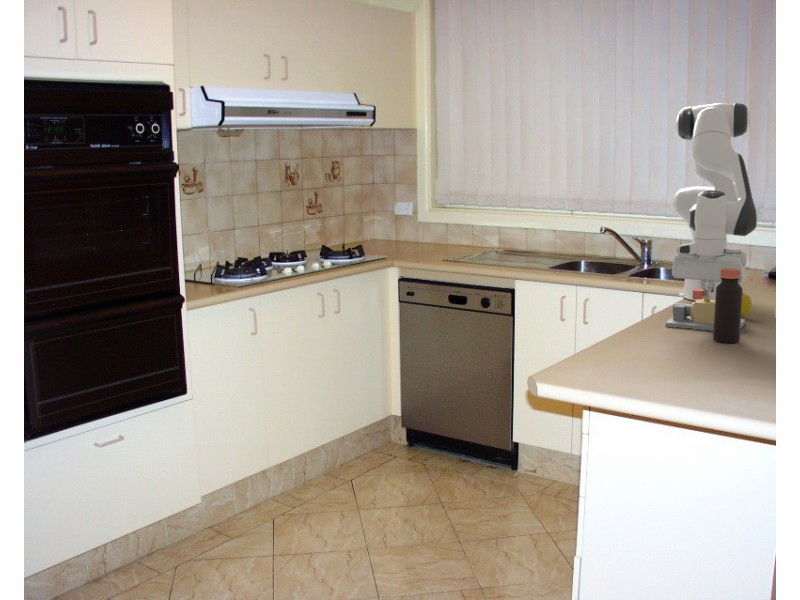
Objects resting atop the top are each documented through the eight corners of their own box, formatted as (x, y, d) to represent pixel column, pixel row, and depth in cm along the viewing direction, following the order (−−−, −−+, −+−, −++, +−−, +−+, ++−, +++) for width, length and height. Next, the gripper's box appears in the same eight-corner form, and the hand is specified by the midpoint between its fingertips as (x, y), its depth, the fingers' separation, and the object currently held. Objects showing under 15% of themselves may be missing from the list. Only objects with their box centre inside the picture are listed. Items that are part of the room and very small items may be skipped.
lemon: (753, 319, 259) (755, 294, 258) (735, 319, 259) (737, 294, 258) (746, 315, 265) (748, 290, 263) (728, 316, 265) (730, 291, 263)
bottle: (716, 343, 229) (720, 271, 225) (710, 337, 235) (714, 267, 232) (742, 344, 228) (746, 271, 224) (735, 338, 234) (740, 267, 231)
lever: (690, 298, 241) (691, 290, 240) (702, 291, 253) (703, 283, 252) (703, 299, 239) (703, 291, 238) (715, 292, 251) (715, 284, 250)
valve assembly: (665, 326, 250) (667, 294, 249) (677, 316, 264) (679, 285, 262) (736, 333, 240) (738, 299, 239) (745, 323, 254) (747, 291, 252)
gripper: (750, 249, 234) (747, 298, 237) (679, 245, 247) (677, 291, 250) (743, 251, 230) (740, 301, 232) (670, 247, 243) (668, 294, 245)
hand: (707, 296), depth 241 cm, fingers closed
